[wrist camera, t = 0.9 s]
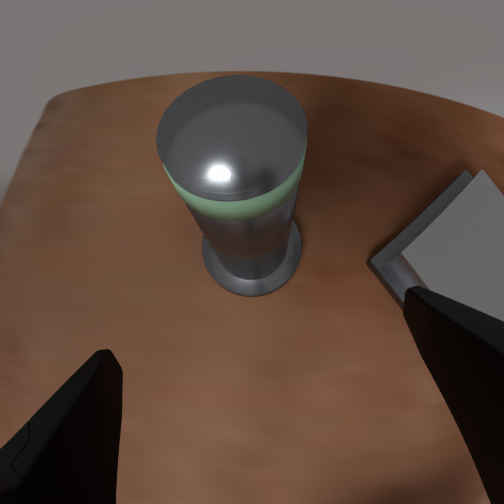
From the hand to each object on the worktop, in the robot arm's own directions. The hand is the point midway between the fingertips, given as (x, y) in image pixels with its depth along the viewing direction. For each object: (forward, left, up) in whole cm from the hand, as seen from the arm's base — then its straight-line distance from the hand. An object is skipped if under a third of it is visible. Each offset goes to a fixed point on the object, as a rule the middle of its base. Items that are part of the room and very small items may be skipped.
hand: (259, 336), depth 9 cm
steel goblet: (+6, -3, -13) cm, 15 cm away
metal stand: (-7, -16, -13) cm, 22 cm away
